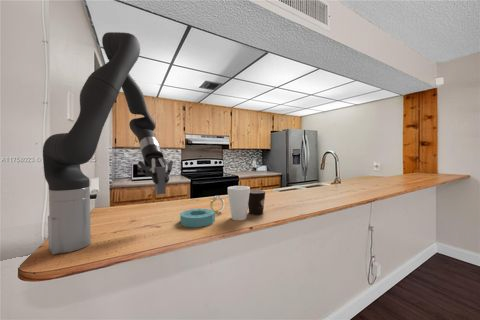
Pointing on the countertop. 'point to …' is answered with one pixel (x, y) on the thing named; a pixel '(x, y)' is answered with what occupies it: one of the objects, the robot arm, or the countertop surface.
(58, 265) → the countertop surface
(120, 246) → the countertop surface
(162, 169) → the gray rectangular block
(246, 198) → the foam cup
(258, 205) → the coffee mug
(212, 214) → the teal ring
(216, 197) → the bracelet
